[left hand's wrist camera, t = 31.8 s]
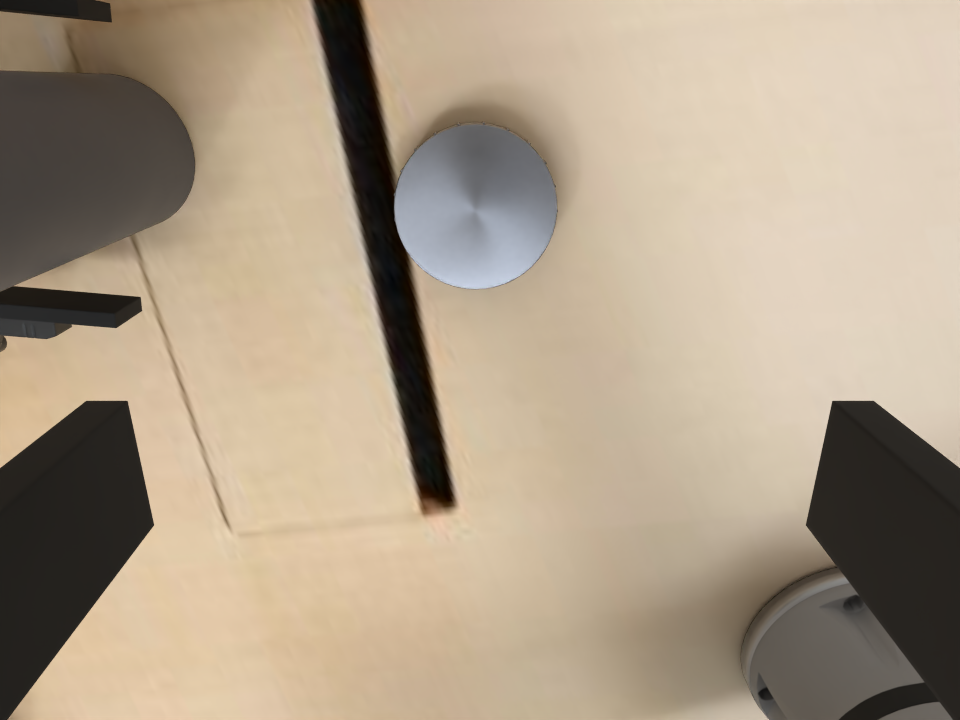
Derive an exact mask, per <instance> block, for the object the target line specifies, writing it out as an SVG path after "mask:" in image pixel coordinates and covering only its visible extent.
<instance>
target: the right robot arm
mask: <svg viewBox="0 0 960 720" xmlns="http://www.w3.org/2000/svg"><path fill="white" fill-rule="evenodd" d="M0 11H3V12H13V13H23V14H33V15H43V16H53V17H63V18H73V19H83V20H93V21H103V22H112V19H111V9H110V3H105V2H101V1H96V0H0ZM141 311H142V306H141V297H134V296H122V295H110V294H98V293H87V292H75V291H63V290H51V289H39V288H28V287H16V286H12V287H10V288H8V289H5V290H3V291H1V292H0V352H1V351H3V350H5V348H6V347H7V341H6V339H5V337H4V336H16V337H28V338H40V339H48V338H51V337H55V336H57V335H59V334H60V333H62V332H64V331H66V330H67V329H69V328H71V327H72V325H71V324H74V325H86V326H98V327H110V328H117V327H119V326H120V325H122V324H123V323H125V322H126V321H128V320H129V319H130V318H132V317H133V316H135V315H136V314H138V313H139V312H141Z"/></svg>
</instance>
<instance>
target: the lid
mask: <svg viewBox="0 0 960 720" xmlns="http://www.w3.org/2000/svg"><path fill="white" fill-rule="evenodd" d="M414 151H415V152H414V153H413V155H412V156H411V157H410V158H409V160H408V161H407V163H406V165H405V166H404V167H403V168H402V170H401V171H400V172H401V175H400V177H399V180H398V183H397V187H396V191H395V194H394V196H395V198H394V215H395V222H396V226H397V231H398V234H399V236H400V239H401V241H402V243H403V245H404V247H405V249H406V251H407V252H408V253H409V255H410V256H411V258H412V259H413V260H414V261H415V262H416V263H417V264H418V266H419V267H420V268H422V269H423V270H424V271H425V272H426V273H428V274H429V275H431V276H432V277H434V278H435V279H437V280H439V281H441V282H444V283H446V284H449V285H452V286H455V287H460V288H465V289H487V288H492V287H497V286H500V285H503V284H506V283H508V282H510V281H512V280H514V279H516V278H517V277H519V276H521V275H522V274H524V273H525V272H526V271H527V270H528V269H530V268H531V267H532V266H533V265H534V264H535V263H536V262H537V261H538V259H539V258H540V257H541V255H542V254H543V252H544V251H545V249H546V247H547V246H548V244H549V242H550V239H551V237H552V235H553V231H554V227H555V223H556V216H557V212H558V210H557V197H556V191H555V187H556V186H555V184H554V183H553V180H552V177H551V175H550V172H549V170H548V168H547V166H546V165H545V164H547V163H546V162H545V161H544V160H543V159H542V158H541V157H540V156H539V155H538V153H537V152H536V151H535V150H534V149H533V148H532V147H531V146H530V142H529V141H525V140H524V139H522V138H521V137H520V136H518V135H517V134H515V133H513V132H512V131H510V130H509V128H507V127H506V129H505V128H503V127H500V126H497V125H493V124H488V123H485V121H483V122H482V123H479V122H473V123H463V124H460V122H459V123H458V124H457V125H454V126H451V127H448V128H445V129H443V130H441V131H439V132H437V131H436V132H435V133H434V135H433V136H431V137H430V138H429V139H427V140H426V141H425V142H424V143H423V144H422V145H421V146H420V147H418V146H417V147H416V148H415V150H414Z"/></svg>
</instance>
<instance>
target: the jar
mask: <svg viewBox="0 0 960 720" xmlns="http://www.w3.org/2000/svg"><path fill="white" fill-rule="evenodd" d="M194 172H195V160H194V152H193V148H192V144H191V140H190V138H189V135H188V133H187V130H186V128H185V126H184V124H183V123H182V121H181V119H180V118H179V116H178V115H177V113H176V112H175V111H174V110H173V108H172V107H171V106H170V105H169V104H168V103H167V102H166V101H165V100H164V99H163V98H162V97H161V96H160V95H159V94H157V93H156V92H155V91H153V90H152V89H150V88H149V87H147V86H145V85H144V84H142V83H140V82H138V81H135V80H133V79H130V78H127V77H124V76H119V75H113V74H89V73H57V72H26V71H0V291H2V290H5V289H7V288H9V287H12V286H14V285H16V284H19V283H21V282H23V281H26V280H28V279H30V278H32V277H35V276H37V275H39V274H42V273H44V272H46V271H49V270H51V269H53V268H56V267H58V266H60V265H63V264H65V263H67V262H70V261H72V260H74V259H77V258H79V257H81V256H84V255H86V254H88V253H91V252H93V251H95V250H97V249H100V248H102V247H104V246H107V245H109V244H111V243H114V242H116V241H118V240H121V239H123V238H125V237H128V236H130V235H132V234H135V233H137V232H139V231H142V230H144V229H146V228H149V227H151V226H153V225H155V224H158V223H160V222H162V221H164V220H166V219H168V218H169V217H171V216H172V215H173V214H174V213H175V212H177V211H178V210H179V208H180V207H181V206H182V205H183V203H184V202H185V200H186V199H187V197H188V195H189V192H190V190H191V187H192V184H193V180H194Z"/></svg>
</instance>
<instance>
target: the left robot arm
mask: <svg viewBox="0 0 960 720" xmlns="http://www.w3.org/2000/svg"><path fill="white" fill-rule="evenodd" d="M153 526H154V523H153V518H152V513H151V509H150V504H149V499H148V494H147V490H146V485H145V480H144V476H143V471H142V466H141V462H140V457H139V452H138V448H137V443H136V438H135V434H134V429H133V424H132V420H131V415H130V410H129V406H128V401H86V402H84V403H83V404H82V405H81V406H79V407H78V408H77V409H75V410H74V411H73V412H72V413H70V414H69V415H68V416H66V417H65V418H64V419H63V420H61V421H60V422H59V423H58V424H56V425H55V426H54V427H52V428H51V429H50V430H49V431H47V432H46V433H45V434H43V435H42V436H41V437H40V438H38V439H37V440H36V441H34V442H33V443H32V444H31V445H29V446H28V447H27V448H26V449H24V450H23V451H22V452H20V453H19V454H18V455H17V456H15V457H14V458H13V459H11V460H10V461H9V462H8V463H6V464H5V465H4V466H2V467H1V468H0V720H7V719H8V718H9V717H10V715H11V714H12V713H13V711H14V710H15V709H16V707H17V706H18V705H19V703H20V702H21V701H22V699H23V698H24V697H25V695H26V694H27V693H28V691H29V690H30V689H31V687H32V686H33V685H34V683H35V682H36V681H37V679H38V678H39V677H40V676H41V674H42V673H43V672H44V670H45V669H46V668H47V666H48V665H49V664H50V662H51V661H52V660H53V658H54V657H55V656H56V654H57V653H58V652H59V650H60V649H61V648H62V646H63V645H64V644H65V642H66V641H67V640H68V638H69V637H70V636H71V634H72V633H73V632H74V631H75V629H76V628H77V627H78V625H79V624H80V623H81V621H82V620H83V619H84V617H85V616H86V615H87V613H88V612H89V611H90V609H91V608H92V607H93V605H94V604H95V603H96V601H97V600H98V599H99V597H100V596H101V595H102V593H103V592H104V591H105V589H106V588H107V587H108V585H109V584H110V583H111V582H112V580H113V579H114V578H115V576H116V575H117V574H118V572H119V571H120V570H121V568H122V567H123V566H124V564H125V563H126V562H127V560H128V559H129V558H130V556H131V555H132V554H133V552H134V551H135V550H136V548H137V547H138V546H139V544H140V543H141V542H142V540H143V539H144V538H145V536H146V535H147V534H148V533H149V531H150V530H151V529H152V527H153ZM806 526H807V527H808V529H809V530H810V531H811V533H812V534H813V535H814V536H815V538H816V539H817V540H818V542H819V543H820V544H821V546H822V547H823V548H824V550H825V551H826V552H827V554H828V555H829V556H830V558H831V559H832V560H833V562H834V563H835V564H836V566H837V568H832V569H829V570H825V571H822V572H819V573H816V574H813V575H811V576H809V577H806V578H804V579H802V580H800V581H798V582H796V583H794V584H793V585H791V586H789V587H788V588H786V589H784V590H783V591H782V592H780V593H779V594H778V595H776V596H775V597H774V598H773V599H772V600H771V601H769V602H768V603H767V604H766V605H765V606H764V607H763V608H762V610H761V611H760V612H759V613H758V615H757V616H756V617H755V619H754V620H753V622H752V623H751V625H750V627H749V629H748V631H747V633H746V636H745V638H744V641H743V645H742V651H741V666H742V671H743V675H744V678H745V680H746V682H747V684H748V687H749V689H750V691H751V693H752V696H753V698H754V700H755V702H756V703H757V705H758V706H759V708H760V709H761V710H762V711H763V713H764V714H765V715H766V717H767V718H768V719H769V720H960V468H959V467H958V466H956V465H955V464H954V463H952V462H951V461H950V460H949V459H947V458H946V457H945V456H943V455H942V454H941V453H940V452H938V451H937V450H936V449H934V448H933V447H932V446H931V445H929V444H928V443H927V442H926V441H924V440H923V439H922V438H920V437H919V436H918V435H917V434H915V433H914V432H913V431H911V430H910V429H909V428H908V427H906V426H905V425H904V424H902V423H901V422H900V421H899V420H897V419H896V418H895V417H894V416H892V415H891V414H890V413H888V412H887V411H886V410H885V409H883V408H882V407H881V406H879V405H878V404H877V403H876V402H874V401H832V406H831V410H830V415H829V420H828V424H827V429H826V434H825V438H824V443H823V448H822V452H821V457H820V462H819V466H818V471H817V476H816V480H815V485H814V490H813V494H812V499H811V504H810V509H809V513H808V518H807V523H806Z"/></svg>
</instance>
